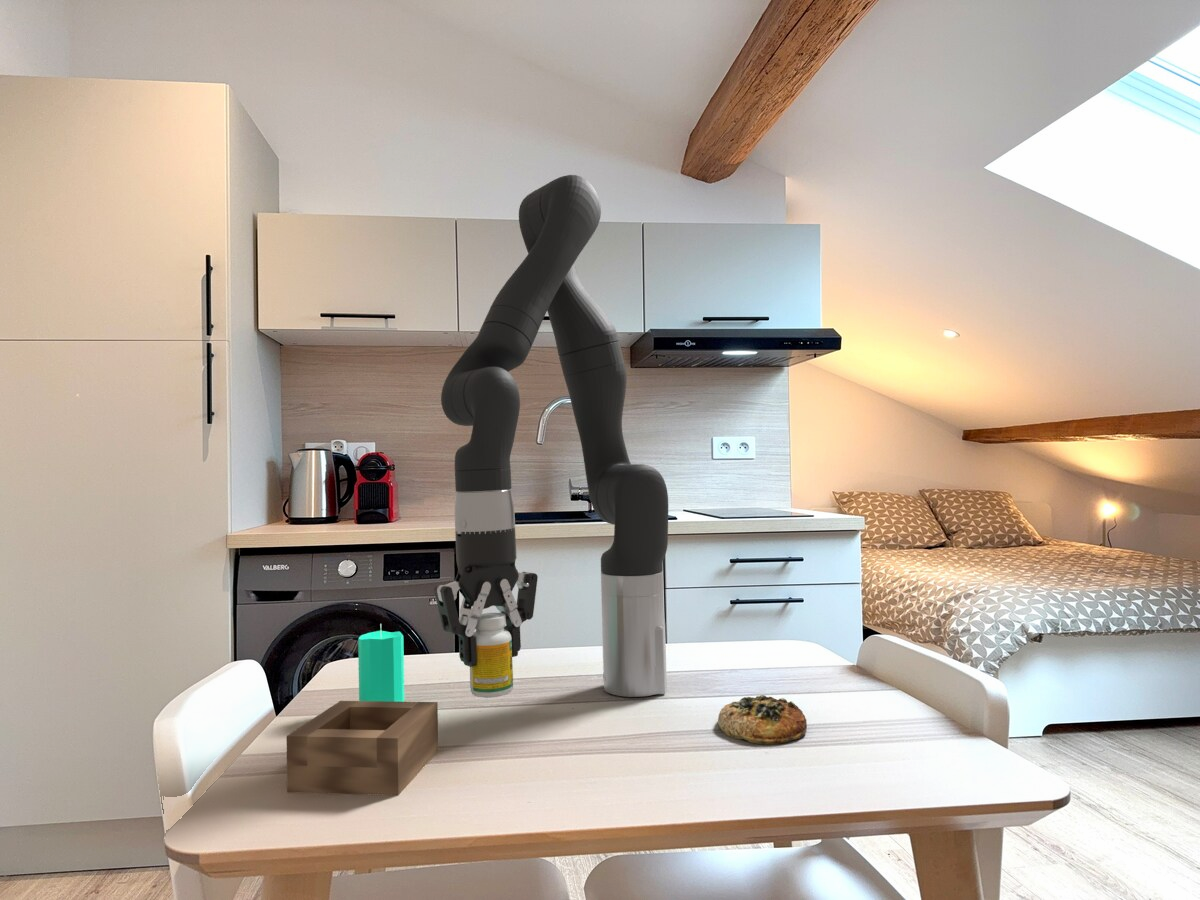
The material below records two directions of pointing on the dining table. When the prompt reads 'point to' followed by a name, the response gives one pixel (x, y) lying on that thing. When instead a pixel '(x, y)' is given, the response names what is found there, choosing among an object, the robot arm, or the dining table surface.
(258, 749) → the dining table surface
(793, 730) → the bread roll
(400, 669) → the candle
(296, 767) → the walnut tray
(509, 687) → the supplement bottle
